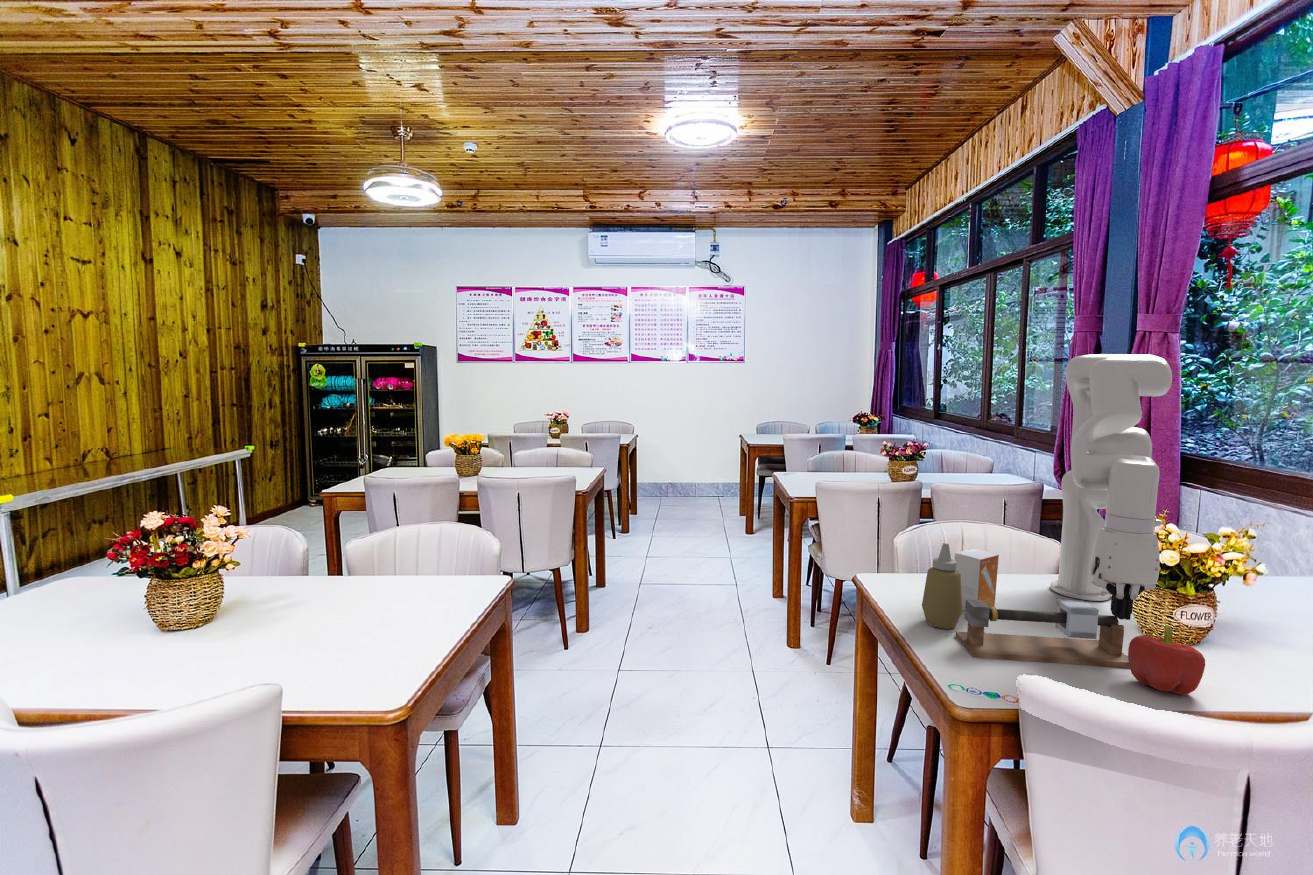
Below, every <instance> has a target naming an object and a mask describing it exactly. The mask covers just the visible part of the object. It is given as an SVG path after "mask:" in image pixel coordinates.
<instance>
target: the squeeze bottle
mask: <svg viewBox="0 0 1313 875" xmlns="http://www.w3.org/2000/svg"><path fill="white" fill-rule="evenodd" d="M956 565H957V562H956V561H955V559H952V554H951V548H950V545H949V543H945V542H944V543H942V545H941V549H940V552H939V555H938V557H934V558H933V559H932V567H929V568H928V570H927V573H926V577H925V584H924V590H923V596H922V602H921V606H922V611H923V615H924V617H925V622H926V623H927V624H928V625H930V626H932V627H934V628H938V629H944V630H945V629H946V630H947V629H948V630H951V629H955V628H956V626H957V624H958V623H959V620H960V617H961V615H962V614H963V610H962V591H961V574H960V573H959V572H958V571H957V570H956Z"/></svg>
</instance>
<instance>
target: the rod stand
mask: <svg viewBox="0 0 1313 875" xmlns="http://www.w3.org/2000/svg"><path fill="white" fill-rule="evenodd" d="M964 619H965V621H966V622H967V631H958V630H957V631H955V638H957V639H958V641H959V642H960V643H961V644H962V645H963V647H964V648H965V649H966V650H967V651H968V652H969V654H970V655H971V656H972V657H973V658H978V659H979V658H980V659H994V660H1009V661H1021V662H1022V661H1024V662H1026V661H1027V662H1037V663H1038V662H1039V663H1053V664H1066V665H1071V664H1072V665H1081V666H1082V665H1084V666H1085V665H1086V666H1098V667H1099V666H1100V667H1114V668H1127V669H1130V667H1129V661H1128V654H1126V653H1124V652H1123V647H1124V636H1125V625H1123V624H1120V623H1119V618H1117V617H1116V616H1114V615H1106V614H1105V615H1104V614H1103V615H1102V614H1098V625H1097V627H1098V626H1099V634H1098V639H1085V638H1069V637H1056V636H1055V637H1053V636H1040V635H1039V636H1038V635H1021V634H1006V633H1005V634H1003V633H988V632H985V628H989V621H990V622H997V621H999V620H1001V621H1015V622H1018V621H1019V622H1030V623H1031V622H1032V623H1049V624H1050V623H1052V624H1056V623H1064V624H1066V623H1067V613H1057V611H1056V612H1052V611H1036V610H1034V611H1033V610H1017V609H1002V608H997V607H996V606H995V607H988V606H987V605H986V604H985V603H984V602H983V601H982V600H967V599H966V605H965V610H964Z"/></svg>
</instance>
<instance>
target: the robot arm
mask: <svg viewBox="0 0 1313 875" xmlns="http://www.w3.org/2000/svg"><path fill="white" fill-rule="evenodd" d="M1065 380H1066V386H1067V390H1068V392H1069V396H1070V399H1071V401H1072V406H1073V407H1072V408H1073V409H1072V410H1073V413H1072V414H1073V416H1072V426H1071V427H1072V428H1071V430H1072V431H1071V442H1070V466H1071V470H1069V471H1067V472H1066V473H1064V474H1063V476H1062V479H1061V495H1062V498H1061V499H1062V527H1061V540H1060V551H1059V554H1060V555H1059V566H1058V576H1057V577H1058V578H1057V579H1058V580H1054V581H1052V582H1050V589H1051V590H1052V591H1053V592H1055V593H1056V594H1059V595H1062V596H1065V597H1069V598H1072V599H1077V600H1081V601H1090V602H1103V601H1108V600H1111V601H1110V613H1111V616H1116V617H1117V618H1118V620H1122V621H1123V620H1126V621H1130V620H1131V617H1132V614H1133V607H1134V600H1137V599H1138V596H1139V595H1141V593H1142V592H1144V591H1145V592H1146V591H1152V590H1155V589H1156V583H1157V582H1158V581H1159V575H1160V547H1159V545H1160V544H1159V540H1158V534H1157V533H1155V528H1156V527H1160V526H1162V521H1161V520H1160V519H1159V518H1158V519H1157V518H1156V514H1157V513H1156V512H1157V502H1158V501H1157V500H1158V492H1159V491H1158V490H1159V481H1160V474H1161V473H1160V466H1159V465H1158V464H1156V462H1155V461H1154V460H1153V459H1152V456H1153V444H1152V439H1151V436H1150V434H1149V433H1148V431H1147V430H1145V429H1144V428H1141V427H1135V426H1136V425H1138V424H1139V423H1140V421H1141V420H1142V417H1143V410H1142V405H1141V399H1140V398H1141V397H1161V396H1164V395H1166V394H1167V393H1168V392H1169V391H1170V389H1171V386H1172V384H1173V383H1172V382H1173V372H1172V369H1171V366H1170V364H1169V363H1168V361H1167V360H1166V359H1165V358H1163V357H1160V356H1157V355H1154V354H1141V353H1139V354H1134V353H1133V354H1127V353H1126V354H1125V353H1124V354H1122V353H1119V354H1117V353H1116V354H1112V353H1110V354H1109V353H1107V354H1106V353H1100V354H1098V353H1097V354H1094V353H1093V354H1084V355H1078V356H1074V357H1073V358H1071V359H1070V360H1069V361H1068V362H1067V365H1066V369H1065ZM1099 509H1100V510H1105V515H1104V516H1105V518H1103V516H1102V515H1101V514H1100V513H1099V512H1098V510H1099Z"/></svg>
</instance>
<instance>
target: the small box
mask: <svg viewBox="0 0 1313 875" xmlns="http://www.w3.org/2000/svg"><path fill="white" fill-rule="evenodd" d="M999 556H1000V555H999V554H997V553H993V552H990V551H985V550H981V549H977V548H971V549H967V550H962V551H958V552H955V553H954V560H955V561H956V562H957V565H956V570H957V571H958V572H959V573H960V574H961V591H962V611H965V605H966V599H967V600H982V601H983V602H984V603H985V604H986V605H987V606H988V607H995V608H996V595H997V594H996V592H997V581H998V580H997V579H998V568H999Z"/></svg>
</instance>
